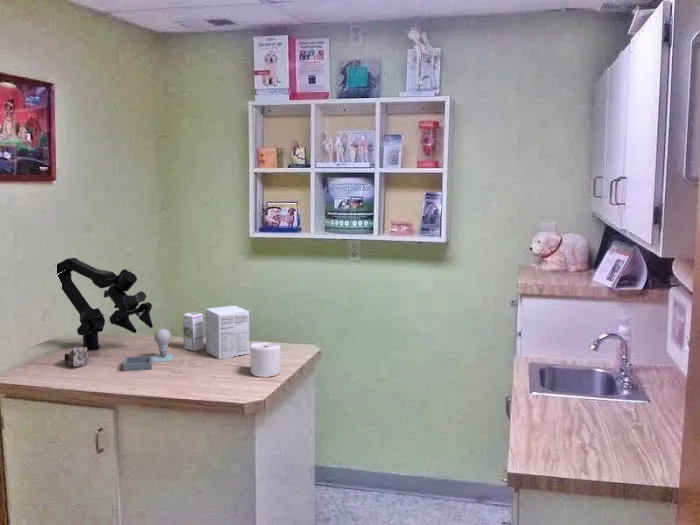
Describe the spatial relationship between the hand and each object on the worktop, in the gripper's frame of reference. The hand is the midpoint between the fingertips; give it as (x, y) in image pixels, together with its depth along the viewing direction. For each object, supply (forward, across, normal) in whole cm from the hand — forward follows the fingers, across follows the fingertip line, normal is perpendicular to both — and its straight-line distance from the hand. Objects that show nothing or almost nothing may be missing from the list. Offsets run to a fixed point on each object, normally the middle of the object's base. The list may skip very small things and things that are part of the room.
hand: (144, 329), depth 259 cm
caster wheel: (-4, -19, +19) cm, 27 cm away
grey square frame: (+12, -12, +2) cm, 17 cm away
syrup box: (+15, +17, 0) cm, 22 cm away
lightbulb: (+13, +1, +2) cm, 13 cm away
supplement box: (+26, +18, -11) cm, 33 cm away
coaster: (+13, 0, +2) cm, 13 cm away
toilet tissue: (+44, +1, -30) cm, 54 cm away
